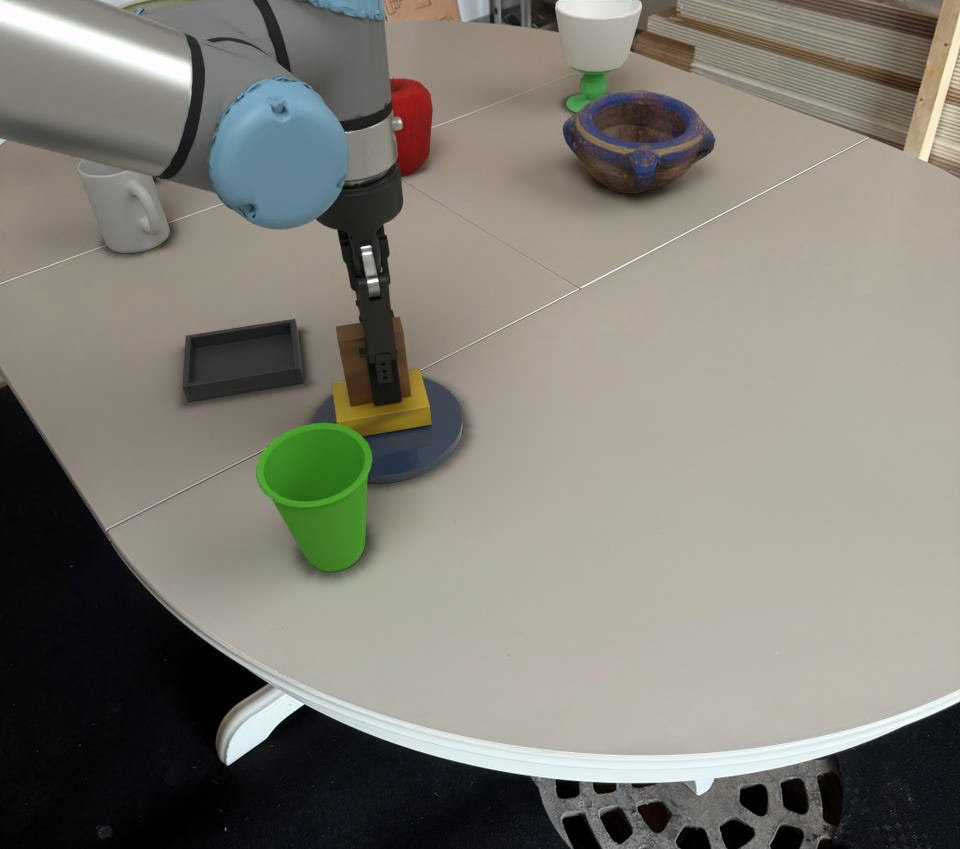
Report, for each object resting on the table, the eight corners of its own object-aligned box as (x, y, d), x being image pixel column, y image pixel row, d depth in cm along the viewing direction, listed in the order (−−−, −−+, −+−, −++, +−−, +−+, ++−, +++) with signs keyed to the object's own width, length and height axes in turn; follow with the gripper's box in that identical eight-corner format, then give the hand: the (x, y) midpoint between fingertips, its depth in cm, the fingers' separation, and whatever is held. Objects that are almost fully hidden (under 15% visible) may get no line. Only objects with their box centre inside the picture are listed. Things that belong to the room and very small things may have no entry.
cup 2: (537, 99, 142) (538, 0, 131) (604, 83, 146) (610, -14, 136) (579, 127, 133) (584, 24, 122) (649, 109, 137) (660, 8, 126)
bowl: (625, 225, 110) (633, 154, 103) (547, 174, 122) (548, 107, 115) (723, 187, 117) (736, 118, 110) (640, 143, 128) (646, 78, 121)
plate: (320, 496, 76) (318, 488, 76) (308, 393, 87) (307, 386, 86) (477, 467, 78) (476, 459, 78) (447, 370, 89) (446, 363, 88)
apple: (440, 152, 128) (434, 63, 119) (431, 183, 121) (423, 90, 111) (374, 152, 129) (362, 63, 120) (360, 182, 122) (347, 90, 112)
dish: (187, 402, 87) (182, 387, 85) (190, 350, 93) (185, 335, 92) (303, 382, 88) (300, 367, 87) (298, 333, 95) (295, 318, 93)
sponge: (340, 440, 80) (322, 356, 73) (335, 401, 84) (317, 317, 77) (431, 424, 81) (422, 340, 74) (421, 386, 85) (412, 302, 78)
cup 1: (408, 548, 71) (395, 460, 64) (324, 611, 67) (299, 524, 59) (345, 494, 76) (326, 406, 69) (263, 550, 72) (233, 462, 64)
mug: (94, 239, 112) (63, 163, 104) (149, 215, 116) (124, 140, 109) (139, 270, 106) (111, 192, 98) (196, 243, 110) (173, 167, 103)
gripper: (414, 205, 60) (437, 437, 76) (385, 120, 71) (410, 338, 87) (311, 219, 59) (356, 452, 75) (297, 131, 70) (339, 350, 86)
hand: (385, 390), depth 81 cm, fingers closed on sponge, 2 cm apart
